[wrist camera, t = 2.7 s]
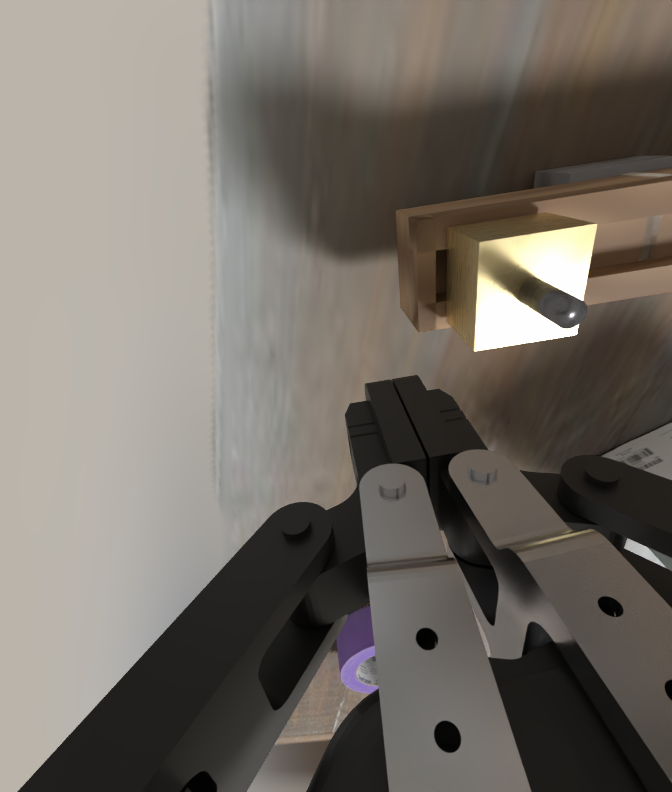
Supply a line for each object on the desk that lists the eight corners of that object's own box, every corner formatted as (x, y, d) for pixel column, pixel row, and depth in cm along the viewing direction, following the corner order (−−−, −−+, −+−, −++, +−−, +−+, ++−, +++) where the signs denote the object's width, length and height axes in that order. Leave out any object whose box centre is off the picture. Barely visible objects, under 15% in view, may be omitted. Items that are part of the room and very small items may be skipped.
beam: (381, 195, 27) (415, 209, 20) (786, 132, 28) (963, 124, 21) (388, 296, 31) (419, 340, 24) (746, 239, 31) (884, 265, 24)
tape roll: (426, 596, 51) (438, 636, 47) (422, 646, 57) (432, 686, 53) (332, 608, 51) (336, 650, 46) (338, 658, 57) (342, 699, 52)
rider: (438, 223, 22) (513, 257, 14) (530, 208, 22) (652, 235, 14) (438, 313, 24) (502, 381, 17) (520, 299, 24) (620, 361, 17)
